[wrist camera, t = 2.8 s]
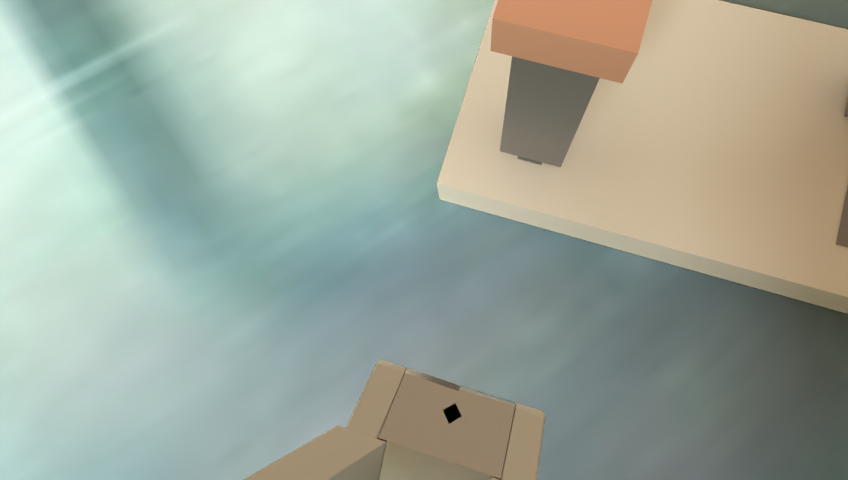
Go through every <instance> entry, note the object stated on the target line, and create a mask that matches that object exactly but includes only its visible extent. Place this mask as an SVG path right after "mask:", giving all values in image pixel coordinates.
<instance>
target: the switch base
mask: <svg viewBox="0 0 848 480" xmlns="http://www.w3.org/2000/svg"><path fill="white" fill-rule="evenodd" d="M497 2H498V0H494V3H493V7H492V10H491V13H490V16H489V19H488V23H487V26H486V29H485V32H484V35H483V38H482V42H481V45H480V48H479V51H478V54H477V57H476V61H475V64H474V67H473V70H472V73H471V76H470V80H469V83H468V86H467V89H466V92H465V95H464V99H463V102H462V105H461V108H460V111H459V114H458V118H457V121H456V124H455V127H454V130H453V134H452V137H451V140H450V143H449V146H448V149H447V153H446V156H445V159H444V162H443V165H442V168H441V172H440V175H439V178H438V181H437V187H438V193H439V198H440V200H443V201H447V202H451V203H454V204H458V205H461V206H465V207H468V208H472V209H476V210H479V211H483V212H486V213H490V214H493V215H497V216H501V217H504V218H508V219H511V220H515V221H518V222H522V223H526V224H529V225H533V226H536V227H540V228H543V229H547V230H550V231H554V232H558V233H561V234H565V235H568V236H572V237H575V238H579V239H583V240H586V241H590V242H593V243H597V244H600V245H604V246H608V247H611V248H615V249H618V250H622V251H625V252H629V253H633V254H636V255H640V256H643V257H647V258H650V259H654V260H657V261H661V262H665V263H668V264H672V265H675V266H679V267H682V268H686V269H690V270H693V271H697V272H700V273H704V274H707V275H711V276H715V277H718V278H722V279H725V280H729V281H732V282H736V283H740V284H743V285H747V286H750V287H754V288H757V289H761V290H764V291H768V292H772V293H775V294H779V295H782V296H786V297H789V298H793V299H797V300H800V301H804V302H807V303H811V304H814V305H818V306H822V307H825V308H829V309H832V310H836V311H839V312H843V313H847V314H848V117H845V112H846V107H847V103H848V29H844V28H839V27H835V26H830V25H826V24H822V23H817V22H813V21H808V20H804V19H800V18H795V17H791V16H786V15H782V14H777V13H773V12H769V11H764V10H760V9H755V8H751V7H747V6H742V5H738V4H733V3H729V2H724V1H720V0H652V4H651V7H650V11H649V15H648V19H647V22H646V26H645V30H644V34H643V37H642V41H641V45H640V48H639V52H638V55H637V57H636V59H635V60H634V62H633V64H632V66H631V68H630V70H629V72H628V74H627V76H626V78H625V80H624V81H623V83H618V82H614V81H610V80H606V79H602V78H600V79H599V81H598V83H597V86H596V88H595V90H594V93H593V95H592V97H591V99H590V102H589V104H588V106H587V109H586V111H585V113H584V115H583V118H582V120H581V122H580V125H579V127H578V129H577V131H576V134H575V136H574V138H573V140H572V143H571V145H570V147H569V150H568V152H567V154H566V156H565V159H564V161H563V163H562V166H561V167H557V166H553V165H549V164H546V163H542V162H538V161H534V160H531V159H527V158H523V157H519V156H516V155H512V154H508V153H505V152H501V151H500V145H501V137H502V129H503V122H504V114H505V107H506V99H507V91H508V84H509V76H510V68H511V61H512V56H509V55H505V54H501V53H497V52H493V51H490V49H491V33H492V18H493V15H494V12H495V8H496V5H497Z"/></svg>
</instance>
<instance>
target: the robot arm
mask: <svg viewBox="0 0 848 480" xmlns="http://www.w3.org/2000/svg"><path fill="white" fill-rule="evenodd" d="M544 423H545V414H544V411H541V410H537V409H534V408H531V407H528V406H525V405H521V404H518V403H516V404H515V402H512V401H509V400H506V399H502V398H499V397H496V396H493V395H489V394H486V393H483V392H480V391H476V390H473V389H470V388H467V387H464V386H458V385H456V384H453V383H450V382H447V381H444V380H441V379H438V378H435V377H432V376H430V375H427V374H424V373H421V372H418V371H415V370H412V369H409V368H405V367H402V366H399V365H396V364H393V363H391V362H388V361H385V360H382V359H380V360H379V361H378V363H377V364H376V365H375V367H374V369H373V371H372V373H371V375H370V378H369V380H368V382H367V384H366V386H365V388H364V390H363V392H362V394H361V397H360V399H359V401H358V403H357V405H356V407H355V409H354V411H353V413H352V415H351V418H350V420H349V422H348V424H347V426H346V428H344V427H341V426H336V427H334V428H332V429H331V430H329V431H327V432H326V433H324V434H322V435H320V436H319V437H317V438H315V439H313V440H312V441H310V442H308V443H306V444H305V445H303V446H301V447H299V448H298V449H296V450H294V451H293V452H291V453H289V454H287V455H286V456H284V457H282V458H280V459H279V460H277V461H275V462H273V463H272V464H270V465H268V466H266V467H265V468H263V469H261V470H260V471H258V472H256V473H254V474H253V475H251V476H249V477H247V478H246V479H244V480H537V473H538V466H539V458H540V451H541V444H542V437H543V430H544Z"/></svg>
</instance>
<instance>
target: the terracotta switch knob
mask: <svg viewBox="0 0 848 480" xmlns="http://www.w3.org/2000/svg"><path fill="white" fill-rule="evenodd" d="M651 4H652V0H498V2H497V5H496V8H495V12H494V15H493V18H492V33H491V49H490V51H493V52H497V53H501V54H505V55H509V56H512V61H511V68H510V76H509V84H508V91H507V99H506V107H505V114H504V122H503V129H502V137H501V145H500V151H501V152H505V153H508V154H512V155H516V156H519V157H523V158H527V159H531V160H534V161H538V162H542V163H546V164H549V165H553V166H557V167H561V166H562V163H563V161H564V159H565V156H566V154H567V152H568V150H569V147H570V145H571V143H572V140H573V138H574V136H575V134H576V131H577V129H578V127H579V125H580V122H581V120H582V118H583V115H584V113H585V111H586V109H587V106H588V104H589V102H590V99H591V97H592V95H593V93H594V90H595V88H596V86H597V83H598V81H599V79H600V78H602V79H606V80H610V81H614V82H618V83H623V81H624V80H625V78H626V76H627V74H628V72H629V70H630V68H631V66H632V64H633V62H634V60H635V59H636V57H637V55H638V52H639V48H640V45H641V41H642V37H643V34H644V30H645V26H646V22H647V19H648V15H649V11H650V7H651Z"/></svg>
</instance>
